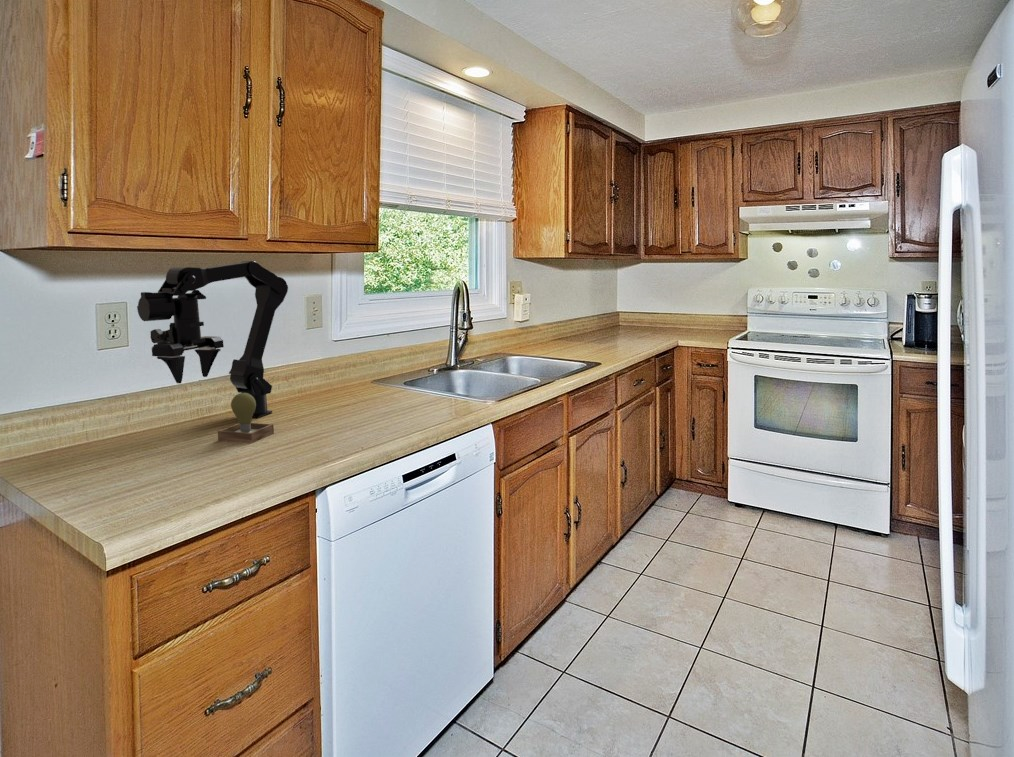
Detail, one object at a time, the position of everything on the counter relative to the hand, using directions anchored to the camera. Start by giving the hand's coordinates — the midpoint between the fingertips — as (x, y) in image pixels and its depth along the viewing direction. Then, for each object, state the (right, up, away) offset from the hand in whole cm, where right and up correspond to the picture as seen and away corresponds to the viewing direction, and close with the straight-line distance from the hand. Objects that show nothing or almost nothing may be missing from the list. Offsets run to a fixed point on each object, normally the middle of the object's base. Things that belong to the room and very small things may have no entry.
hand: (192, 379), depth 161 cm
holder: (+16, -14, -6) cm, 22 cm away
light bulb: (+16, -13, -7) cm, 22 cm away
